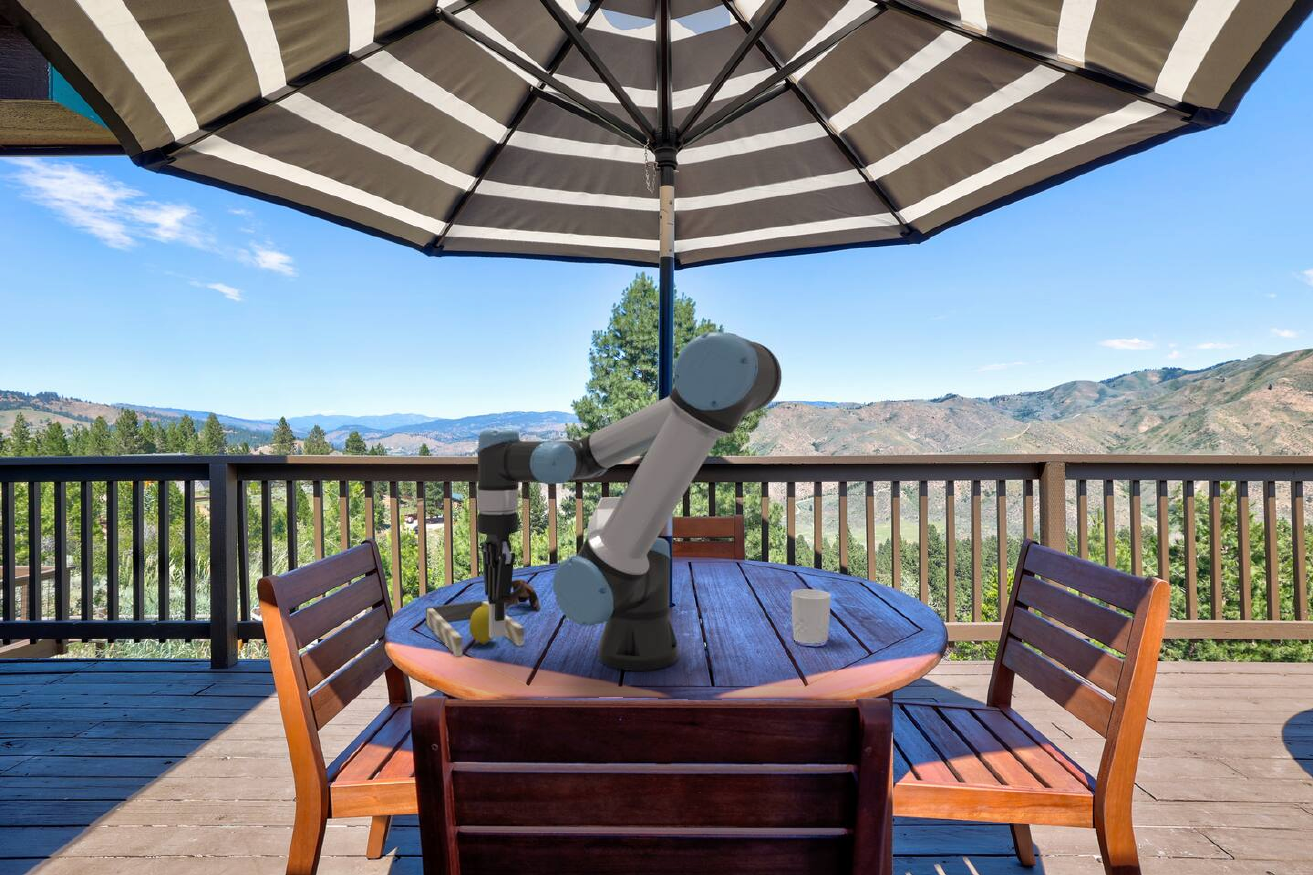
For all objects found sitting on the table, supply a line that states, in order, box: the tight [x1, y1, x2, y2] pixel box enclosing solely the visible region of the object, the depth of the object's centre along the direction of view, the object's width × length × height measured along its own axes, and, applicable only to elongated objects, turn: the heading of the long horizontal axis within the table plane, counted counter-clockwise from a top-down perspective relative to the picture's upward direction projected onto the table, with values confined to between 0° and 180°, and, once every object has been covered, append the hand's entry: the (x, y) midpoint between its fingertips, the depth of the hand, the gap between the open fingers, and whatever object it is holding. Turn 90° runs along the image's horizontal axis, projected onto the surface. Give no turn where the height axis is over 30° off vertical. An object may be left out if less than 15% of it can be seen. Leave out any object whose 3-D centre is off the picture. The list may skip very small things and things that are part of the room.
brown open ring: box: [506, 578, 541, 612], centre depth 158 cm, size 12×10×8 cm
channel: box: [425, 599, 525, 658], centre depth 138 cm, size 25×13×4 cm, turn 32°
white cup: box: [790, 588, 832, 644], centre depth 135 cm, size 8×8×10 cm
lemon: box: [469, 605, 493, 645], centre depth 131 cm, size 6×6×8 cm
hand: (497, 636), depth 124 cm, fingers closed
